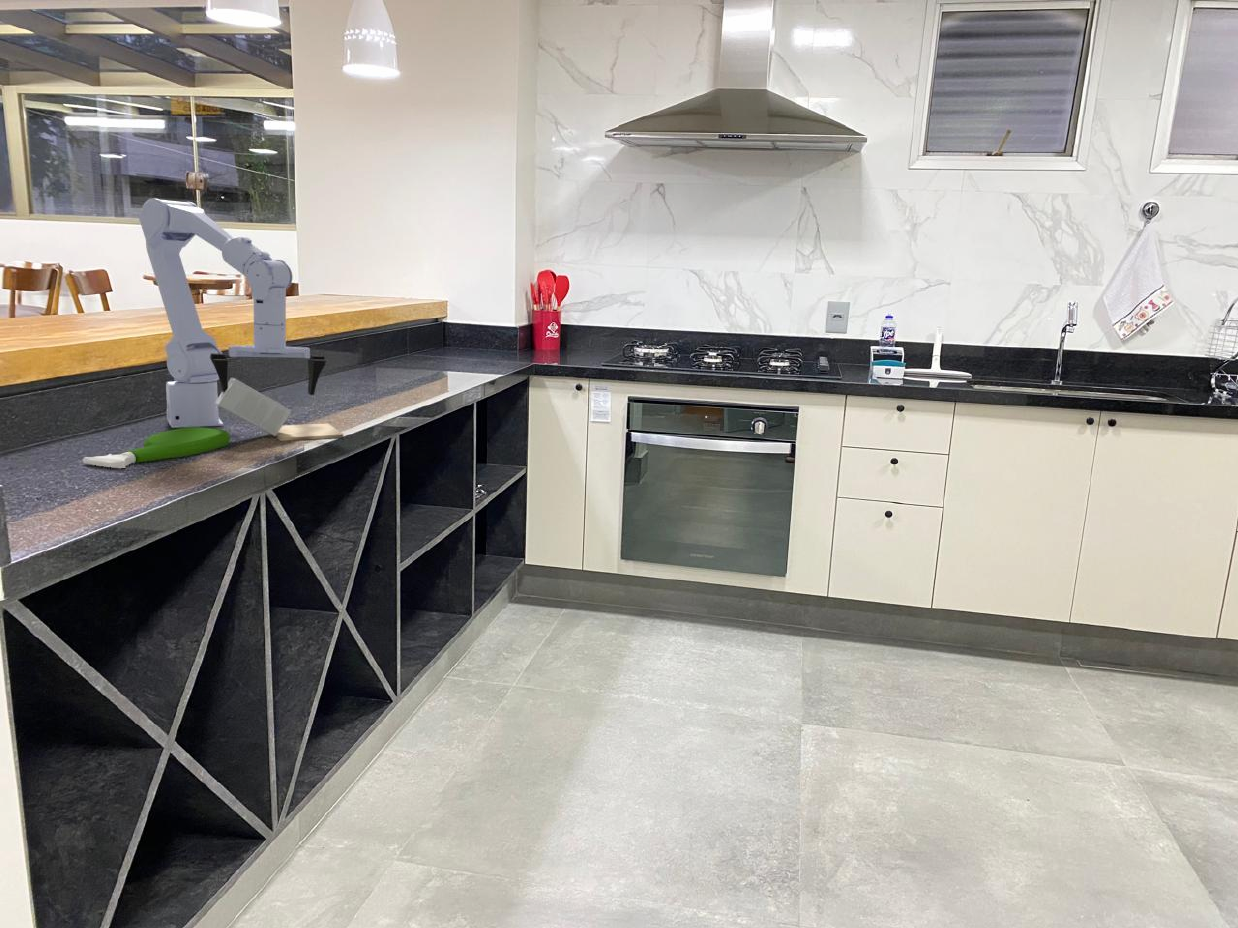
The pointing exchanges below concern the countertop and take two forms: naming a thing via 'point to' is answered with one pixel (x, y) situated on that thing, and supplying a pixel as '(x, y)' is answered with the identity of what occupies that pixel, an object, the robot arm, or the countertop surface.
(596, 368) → the countertop surface
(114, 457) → the spray bottle
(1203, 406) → the countertop surface
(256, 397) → the skincare box
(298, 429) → the cork mat
